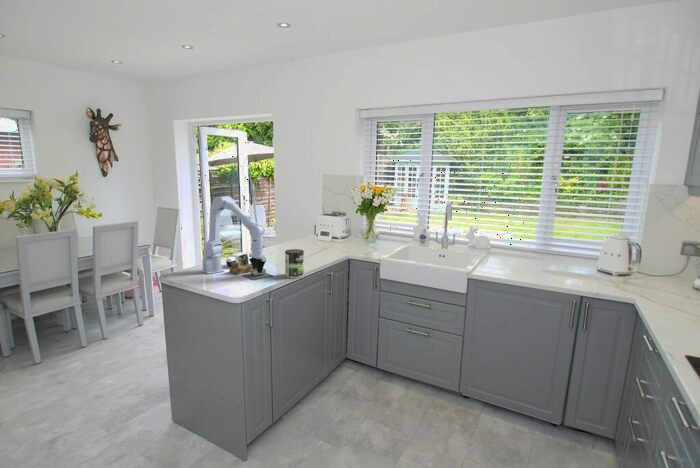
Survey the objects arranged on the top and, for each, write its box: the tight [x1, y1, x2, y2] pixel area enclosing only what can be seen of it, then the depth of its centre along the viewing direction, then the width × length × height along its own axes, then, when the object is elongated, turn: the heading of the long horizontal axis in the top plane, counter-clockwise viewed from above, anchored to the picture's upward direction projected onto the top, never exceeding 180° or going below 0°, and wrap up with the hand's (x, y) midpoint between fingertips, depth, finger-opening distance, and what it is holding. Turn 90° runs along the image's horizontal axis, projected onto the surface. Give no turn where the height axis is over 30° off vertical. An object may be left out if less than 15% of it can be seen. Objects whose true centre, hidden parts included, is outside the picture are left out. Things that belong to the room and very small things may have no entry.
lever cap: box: [249, 267, 267, 276], centre depth 204 cm, size 7×4×3 cm, turn 134°
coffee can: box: [284, 248, 305, 279], centre depth 206 cm, size 10×10×14 cm
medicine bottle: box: [225, 251, 250, 268], centre depth 224 cm, size 7×7×12 cm
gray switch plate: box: [242, 272, 274, 281], centre depth 205 cm, size 12×12×1 cm
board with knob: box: [228, 262, 253, 276], centre depth 213 cm, size 17×7×6 cm, turn 134°
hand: (257, 271), depth 204 cm, fingers closed on lever cap, 4 cm apart
